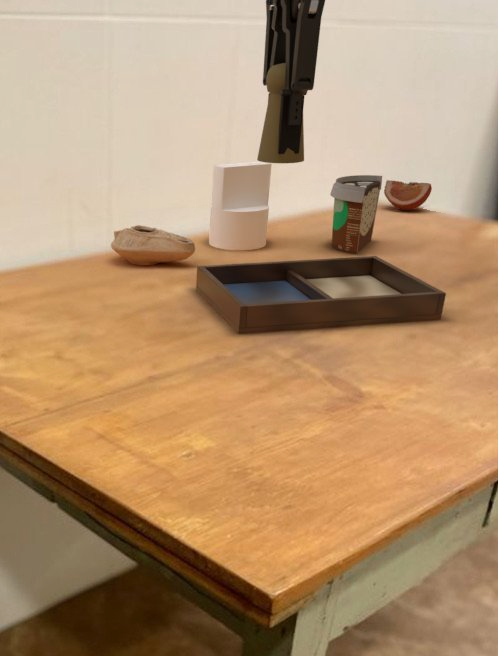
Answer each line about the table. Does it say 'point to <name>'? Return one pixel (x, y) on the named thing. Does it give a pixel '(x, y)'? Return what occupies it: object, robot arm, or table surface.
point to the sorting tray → (316, 294)
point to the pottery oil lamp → (151, 245)
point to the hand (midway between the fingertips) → (281, 150)
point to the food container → (354, 211)
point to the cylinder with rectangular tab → (240, 205)
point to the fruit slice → (407, 194)
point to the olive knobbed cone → (276, 122)
